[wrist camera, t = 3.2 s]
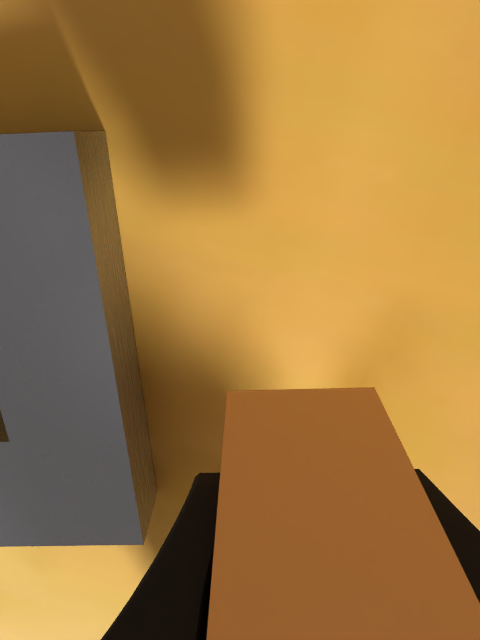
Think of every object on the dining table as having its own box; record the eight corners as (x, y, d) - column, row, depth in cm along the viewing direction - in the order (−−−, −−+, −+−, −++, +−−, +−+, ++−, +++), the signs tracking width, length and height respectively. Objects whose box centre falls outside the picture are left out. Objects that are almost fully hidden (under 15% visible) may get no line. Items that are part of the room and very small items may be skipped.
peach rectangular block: (364, 500, 12) (490, 902, 6) (233, 502, 12) (217, 899, 6) (373, 387, 11) (552, 753, 5) (227, 390, 11) (196, 753, 5)
